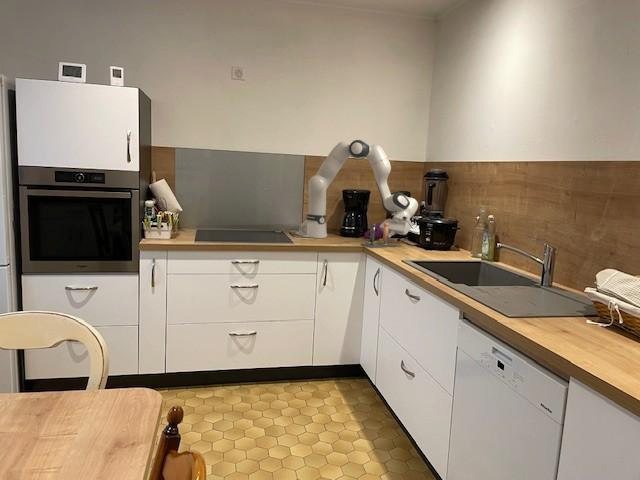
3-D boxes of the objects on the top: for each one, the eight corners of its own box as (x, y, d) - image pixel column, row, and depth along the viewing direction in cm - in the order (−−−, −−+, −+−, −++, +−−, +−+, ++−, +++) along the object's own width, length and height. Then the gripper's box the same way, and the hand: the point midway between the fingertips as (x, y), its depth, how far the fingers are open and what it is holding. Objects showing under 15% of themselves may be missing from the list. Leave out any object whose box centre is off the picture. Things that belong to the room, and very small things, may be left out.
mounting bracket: (375, 248, 307) (391, 235, 318) (373, 237, 304) (389, 224, 314) (364, 246, 314) (380, 233, 324) (361, 235, 310) (377, 222, 321)
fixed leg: (365, 243, 278) (366, 222, 277) (369, 242, 280) (370, 221, 278) (371, 244, 274) (373, 223, 272) (375, 244, 276) (377, 223, 274)
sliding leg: (378, 241, 285) (379, 221, 283) (381, 241, 287) (383, 221, 285) (384, 243, 280) (386, 222, 279) (388, 242, 282) (389, 222, 281)
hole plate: (360, 245, 279) (361, 241, 279) (383, 243, 291) (384, 239, 291) (372, 248, 272) (372, 243, 271) (395, 246, 283) (396, 242, 283)
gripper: (385, 214, 294) (372, 230, 290) (410, 218, 278) (397, 235, 274) (390, 221, 298) (377, 237, 293) (414, 226, 282) (402, 243, 277)
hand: (387, 236), depth 283 cm, fingers closed, pressing on sliding leg
